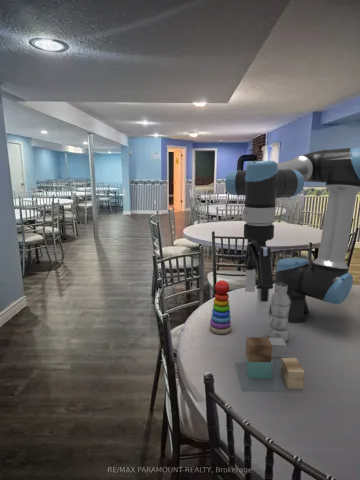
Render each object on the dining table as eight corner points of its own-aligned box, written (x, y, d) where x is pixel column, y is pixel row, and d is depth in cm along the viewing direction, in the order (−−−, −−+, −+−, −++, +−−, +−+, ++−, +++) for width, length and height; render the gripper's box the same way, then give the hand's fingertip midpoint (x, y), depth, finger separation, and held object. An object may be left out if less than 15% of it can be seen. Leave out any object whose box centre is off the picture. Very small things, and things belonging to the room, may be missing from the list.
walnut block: (267, 353, 84) (268, 337, 83) (271, 362, 80) (272, 345, 79) (245, 353, 84) (246, 337, 83) (248, 361, 81) (249, 345, 79)
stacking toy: (231, 336, 105) (232, 285, 101) (208, 333, 106) (209, 284, 102) (231, 325, 112) (233, 278, 108) (210, 323, 114) (211, 276, 110)
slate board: (288, 365, 88) (289, 363, 88) (304, 394, 76) (304, 391, 76) (234, 364, 89) (234, 362, 88) (241, 393, 77) (241, 390, 77)
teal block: (267, 369, 85) (268, 353, 84) (271, 378, 81) (272, 362, 80) (246, 369, 85) (247, 353, 84) (249, 378, 82) (250, 361, 81)
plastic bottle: (278, 347, 97) (282, 290, 93) (264, 338, 103) (267, 283, 99) (292, 342, 100) (297, 286, 96) (277, 333, 106) (281, 280, 102)
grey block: (281, 352, 95) (282, 338, 94) (285, 359, 91) (286, 345, 90) (262, 352, 95) (263, 337, 94) (265, 359, 91) (266, 344, 90)
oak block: (280, 373, 83) (281, 357, 82) (294, 374, 83) (296, 358, 82) (287, 388, 77) (288, 371, 76) (302, 389, 77) (304, 372, 76)
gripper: (235, 216, 88) (233, 284, 93) (256, 232, 64) (252, 323, 69) (261, 216, 88) (257, 284, 93) (291, 232, 64) (285, 322, 68)
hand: (255, 300), depth 81 cm, fingers open, 13 cm apart
